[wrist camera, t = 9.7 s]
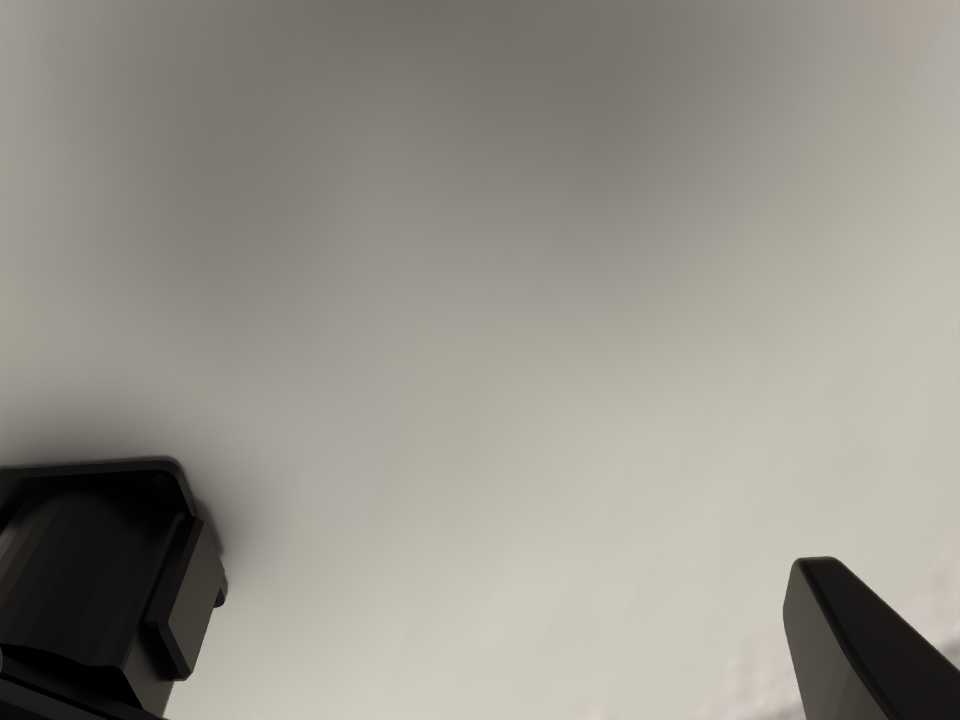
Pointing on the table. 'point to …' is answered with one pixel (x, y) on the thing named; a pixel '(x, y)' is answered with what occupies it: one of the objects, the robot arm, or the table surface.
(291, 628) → the table surface
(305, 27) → the table surface
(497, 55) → the table surface
